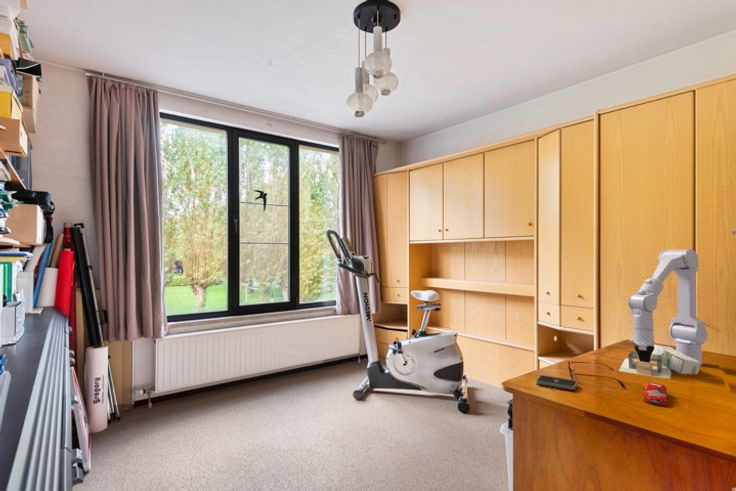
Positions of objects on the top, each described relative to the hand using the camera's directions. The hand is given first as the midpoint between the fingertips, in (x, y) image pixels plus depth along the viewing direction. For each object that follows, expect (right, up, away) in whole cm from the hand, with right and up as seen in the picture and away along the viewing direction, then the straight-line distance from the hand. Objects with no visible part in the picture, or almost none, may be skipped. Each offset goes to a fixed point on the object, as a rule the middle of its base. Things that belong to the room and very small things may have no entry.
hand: (645, 366), depth 130 cm
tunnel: (+1, -1, +2) cm, 2 cm away
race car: (-14, -2, -23) cm, 27 cm away
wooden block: (-3, -1, -3) cm, 4 cm away
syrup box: (+11, +1, -6) cm, 13 cm away
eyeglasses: (-20, -3, -4) cm, 21 cm away
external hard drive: (-37, -3, -11) cm, 39 cm away
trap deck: (+2, -2, +2) cm, 4 cm away
